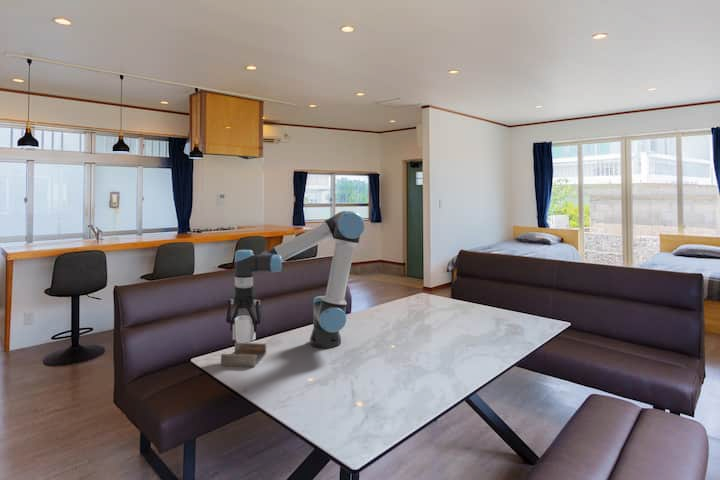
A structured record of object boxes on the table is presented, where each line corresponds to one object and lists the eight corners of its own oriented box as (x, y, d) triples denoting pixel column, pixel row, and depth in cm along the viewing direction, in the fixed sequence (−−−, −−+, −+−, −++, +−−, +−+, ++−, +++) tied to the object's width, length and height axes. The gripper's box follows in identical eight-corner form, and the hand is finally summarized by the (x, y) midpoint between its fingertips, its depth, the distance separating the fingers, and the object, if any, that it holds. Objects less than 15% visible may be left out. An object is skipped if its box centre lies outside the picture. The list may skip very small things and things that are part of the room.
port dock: (266, 353, 182) (266, 343, 182) (254, 367, 166) (254, 356, 166) (235, 352, 183) (235, 342, 183) (221, 365, 168) (221, 355, 167)
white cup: (234, 344, 169) (234, 320, 169) (234, 338, 177) (234, 315, 176) (253, 342, 171) (253, 319, 171) (253, 337, 179) (253, 314, 178)
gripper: (216, 287, 170) (217, 340, 171) (264, 288, 168) (264, 343, 170) (224, 284, 177) (224, 335, 179) (270, 285, 175) (270, 337, 177)
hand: (244, 339), depth 174 cm, fingers closed on white cup, 8 cm apart
